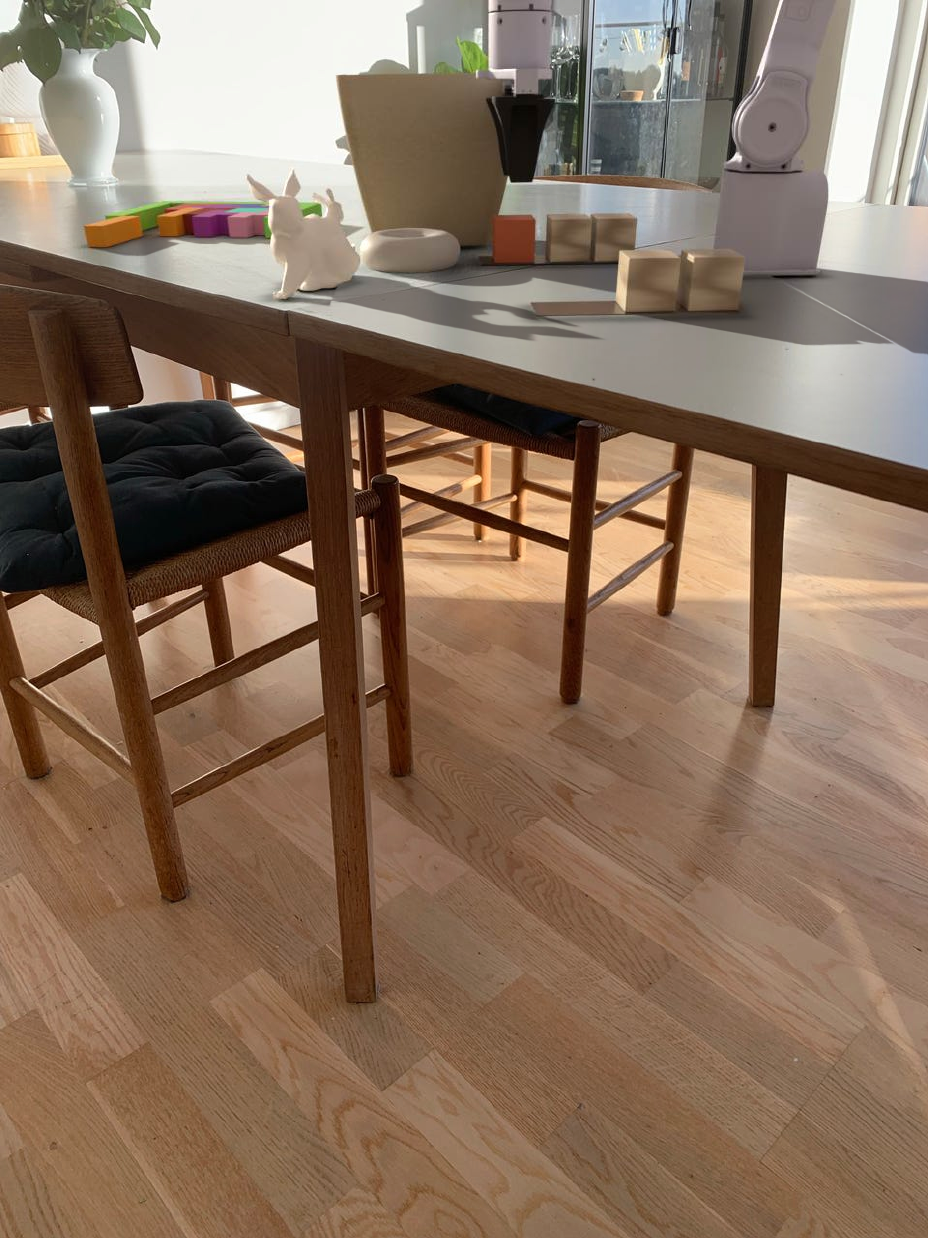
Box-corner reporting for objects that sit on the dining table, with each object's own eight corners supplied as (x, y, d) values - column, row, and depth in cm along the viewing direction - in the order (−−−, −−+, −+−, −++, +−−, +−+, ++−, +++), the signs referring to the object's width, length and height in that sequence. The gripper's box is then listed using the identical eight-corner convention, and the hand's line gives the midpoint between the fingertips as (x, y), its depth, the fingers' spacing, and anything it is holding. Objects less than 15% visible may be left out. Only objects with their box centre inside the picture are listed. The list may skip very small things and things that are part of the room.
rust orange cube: (530, 255, 95) (531, 214, 93) (534, 262, 92) (535, 219, 90) (492, 256, 95) (492, 214, 93) (494, 263, 92) (495, 219, 89)
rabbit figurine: (280, 301, 78) (267, 176, 73) (225, 290, 82) (209, 171, 78) (378, 280, 86) (372, 166, 81) (324, 271, 90) (315, 162, 85)
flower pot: (347, 232, 114) (337, 75, 106) (498, 228, 116) (499, 74, 107) (347, 256, 98) (335, 73, 89) (522, 251, 100) (526, 72, 91)
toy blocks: (165, 218, 127) (69, 246, 106) (162, 200, 126) (65, 225, 105) (322, 220, 124) (256, 249, 102) (321, 202, 123) (254, 227, 101)
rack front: (721, 303, 76) (728, 247, 74) (739, 317, 72) (748, 257, 69) (529, 307, 75) (531, 250, 73) (536, 320, 71) (538, 260, 69)
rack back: (629, 257, 96) (633, 212, 94) (639, 265, 92) (643, 218, 90) (478, 260, 96) (478, 214, 93) (480, 268, 91) (480, 220, 89)
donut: (348, 277, 88) (449, 278, 86) (344, 239, 86) (447, 239, 85) (377, 260, 97) (469, 260, 95) (374, 225, 95) (468, 224, 93)
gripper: (471, 18, 89) (473, 173, 96) (480, 7, 76) (481, 186, 83) (544, 17, 89) (540, 171, 96) (564, 6, 77) (558, 184, 83)
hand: (517, 178), depth 90 cm, fingers open, 7 cm apart
